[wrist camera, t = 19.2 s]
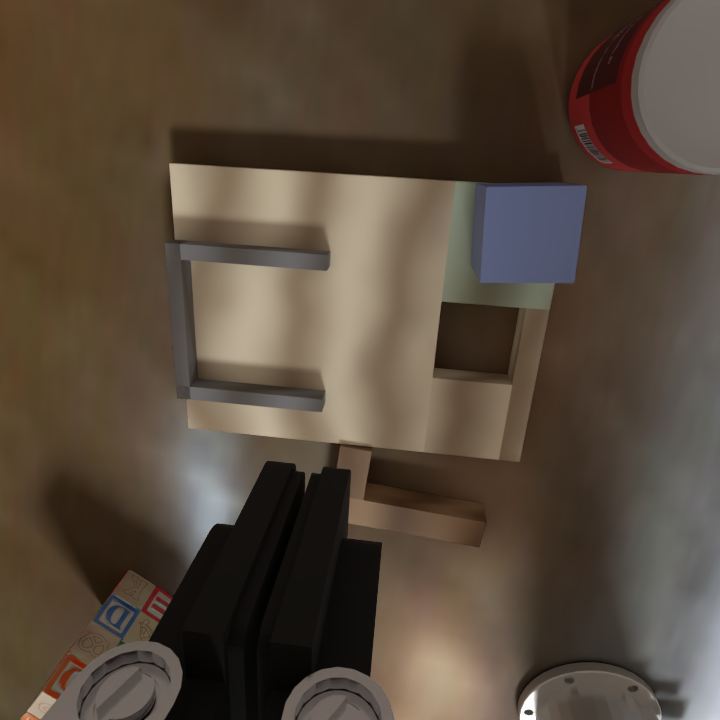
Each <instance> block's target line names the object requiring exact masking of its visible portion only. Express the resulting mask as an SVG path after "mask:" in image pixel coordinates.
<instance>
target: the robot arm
mask: <svg viewBox="0 0 720 720" xmlns="http://www.w3.org/2000/svg"><path fill="white" fill-rule="evenodd" d="M350 485H351V470H349V469H340V468H331V467H323V469H322V472H321V474H317V473H312V474H311V477H310V480H309V483H308V486H307V489H306V492H305V473H304V472H299V471H296V466H295V464H293V463H284V462H274V461H267V462H266V463H265V465H264V467H263V469H262V471H261V473H260V475H259V477H258V479H257V481H256V483H255V485H254V487H253V489H252V491H251V493H250V495H249V497H248V499H247V501H246V503H245V505H244V507H243V509H242V511H241V513H240V515H239V517H238V519H237V521H236V523H235V525H226V524H218V523H217V524H216V525H214V526H213V527H212V529H211V530H210V532H209V534H208V535H207V537H206V539H205V541H204V543H203V544H202V546H201V548H200V550H199V551H198V553H197V555H196V557H195V559H194V560H193V562H192V564H191V566H190V568H189V569H188V571H187V573H186V575H185V577H184V578H183V580H182V582H181V584H180V585H179V587H178V589H177V591H176V593H175V594H174V596H173V598H172V600H171V602H170V603H169V605H168V607H167V609H166V611H165V612H164V614H163V616H162V618H161V619H160V621H159V623H158V625H157V627H156V628H155V630H154V632H153V634H152V636H151V637H150V639H149V641H138V642H131V643H125V644H123V645H120V646H117V647H115V648H112V649H110V650H108V651H106V652H105V653H103V654H101V655H100V656H98V657H97V658H95V659H94V660H92V661H91V662H90V663H89V664H88V665H87V666H86V667H85V668H84V669H83V670H82V671H81V672H80V673H79V674H78V675H77V676H76V677H75V679H74V680H73V681H72V682H71V683H70V685H69V686H68V687H67V688H66V689H65V691H64V692H63V693H62V694H61V695H60V697H59V698H58V699H57V700H56V701H55V703H54V704H53V705H52V706H51V707H50V709H49V710H48V711H47V712H46V713H45V715H44V716H43V717H42V718H41V719H40V720H394V716H393V712H392V709H391V705H390V701H389V700H388V698H387V696H386V695H385V693H384V691H383V690H382V688H381V687H380V686H379V685H378V684H377V683H376V682H375V681H373V680H372V679H371V678H370V672H371V661H372V650H373V638H374V627H375V616H376V604H377V593H378V582H379V571H380V559H381V548H382V543H381V542H373V541H364V540H355V539H347V535H348V518H349V501H350ZM517 714H518V719H519V720H662V714H661V708H660V706H659V703H658V701H657V699H656V696H655V694H654V693H653V691H652V689H651V688H650V687H649V685H648V684H647V683H646V682H645V681H644V680H643V679H641V678H640V677H638V676H637V675H635V674H634V673H632V672H630V671H627V670H625V669H623V668H620V667H617V666H613V665H609V664H604V663H596V662H579V663H572V664H566V665H562V666H559V667H555V668H553V669H550V670H548V671H546V672H544V673H542V674H541V675H539V676H538V677H536V678H535V679H533V680H532V681H531V682H530V683H529V684H528V685H527V686H526V687H525V689H524V690H523V692H522V694H521V695H520V698H519V701H518V708H517Z"/></svg>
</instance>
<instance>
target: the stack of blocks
mask: <svg viewBox="0 0 720 720" xmlns="http://www.w3.org/2000/svg"><path fill="white" fill-rule="evenodd" d="M172 598H173V597H172V596H171V595H169V594H168V593H166V592H165V591H163V590H161V589H160V588H158V587H157V586H155V585H154V584H152V583H151V582H149V581H148V580H146V579H144V578H143V577H141V576H140V575H138V574H136V573H135V572H133V571H132V570H128V572H127V573H126V574H125V575H124V577H123V578H122V579H121V581H120V582H119V583H118V585H117V586H116V587H115V589H114V590H113V592H112V593H111V594H110V596H109V597H108V598H107V600H106V601H105V602H104V604H103V605H102V606H101V607H100V609H99V610H98V612H97V613H96V614H95V616H94V617H93V619H92V620H91V622H90V623H89V624H88V626H87V627H86V628H85V630H84V631H83V632H82V634H81V635H80V636H79V638H78V639H77V640H76V642H75V643H74V644H73V646H72V647H71V648H70V650H69V651H68V652H67V654H66V655H65V657H64V658H63V659H62V661H61V662H60V663H59V665H58V666H57V667H56V669H55V670H54V672H53V673H52V674H51V676H50V677H49V679H48V680H47V681H46V683H45V684H44V686H43V687H42V688H41V690H40V691H39V693H38V695H37V696H36V698H35V699H34V701H33V702H32V703H31V705H30V706H29V708H28V709H27V710H26V712H25V713H24V715H23V716H22V717H21V719H20V720H40V719H41V718H42V717H43V716H44V715H45V713H46V712H47V711H48V710H49V709H50V707H51V706H52V705H53V704H54V703H55V701H56V700H57V699H58V698H59V697H60V695H61V694H62V693H63V692H64V691H65V689H66V688H67V687H68V686H69V685H70V683H71V682H72V681H73V680H74V679H75V677H76V676H77V675H78V674H79V673H80V672H81V671H82V670H83V669H84V668H85V667H86V666H87V665H88V664H89V663H90V662H91V661H92V660H94V659H95V658H97V657H98V656H100V655H101V654H103V653H105V652H106V651H108V650H110V649H112V648H115V647H117V646H120V645H123V644H125V643H131V642H138V641H149V639H150V637H151V636H152V634H153V632H154V630H155V628H156V627H157V625H158V623H159V621H160V619H161V618H162V616H163V614H164V612H165V611H166V609H167V607H168V605H169V603H170V602H171V600H172Z"/></svg>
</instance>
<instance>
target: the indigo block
mask: <svg viewBox="0 0 720 720" xmlns="http://www.w3.org/2000/svg"><path fill="white" fill-rule="evenodd" d="M586 191H587V185H579V184H572V183H564V182H537V183H476V189H475V206H474V223H473V240H472V257H471V267H472V269H473V271H474V272H475V274H476V276H477V278H478V280H479V282H480V283H574V282H575V274H576V267H577V259H578V252H579V244H580V237H581V229H582V222H583V214H584V206H585V199H586Z"/></svg>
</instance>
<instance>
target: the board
mask: <svg viewBox="0 0 720 720" xmlns="http://www.w3.org/2000/svg"><path fill="white" fill-rule="evenodd" d="M169 166H170V180H171V193H172V207H173V221H174V234H175V240H172V241H169V242H166V243H165V253H166V266H167V278H168V291H169V303H170V316H171V328H172V340H173V353H174V365H175V378H176V390H177V398H180V399H187V412H188V426H189V428H193V429H202V430H212V431H222V432H232V433H241V434H251V435H261V436H271V437H280V438H290V439H300V440H310V441H320V442H329V443H339V444H349V445H359V446H368V447H378V448H388V449H398V450H407V451H417V452H427V453H437V454H446V455H456V456H466V457H476V458H485V459H495V460H505V461H515V462H520V457H521V452H522V447H523V442H524V437H525V432H526V427H527V422H528V417H529V412H530V407H531V402H532V397H533V392H534V387H535V382H536V377H537V372H538V367H539V362H540V357H541V352H542V347H543V342H544V336H545V331H546V326H547V321H548V316H549V311H550V306H551V301H552V295H553V290H554V285H555V283H480V282H479V280H478V278H477V276H476V274H475V272H474V271H473V269H472V267H471V257H472V240H473V223H474V206H475V189H476V183H483V182H467V181H452V180H436V179H420V178H404V177H389V176H373V175H357V174H341V173H326V172H310V171H294V170H278V169H263V168H247V167H231V166H215V165H200V164H184V163H169ZM441 302H454V303H466V304H478V305H491V306H503V307H515V308H519V312H518V317H517V323H516V329H515V334H514V340H513V346H512V351H511V357H510V363H509V368H508V374H499V373H488V372H477V371H466V370H455V369H443V368H434V361H435V352H436V344H437V336H438V327H439V319H440V310H441Z"/></svg>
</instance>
